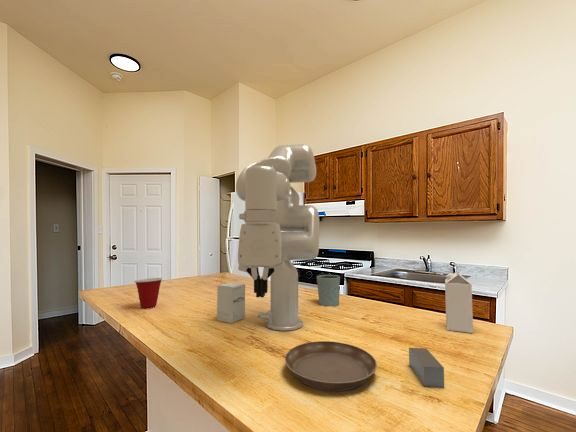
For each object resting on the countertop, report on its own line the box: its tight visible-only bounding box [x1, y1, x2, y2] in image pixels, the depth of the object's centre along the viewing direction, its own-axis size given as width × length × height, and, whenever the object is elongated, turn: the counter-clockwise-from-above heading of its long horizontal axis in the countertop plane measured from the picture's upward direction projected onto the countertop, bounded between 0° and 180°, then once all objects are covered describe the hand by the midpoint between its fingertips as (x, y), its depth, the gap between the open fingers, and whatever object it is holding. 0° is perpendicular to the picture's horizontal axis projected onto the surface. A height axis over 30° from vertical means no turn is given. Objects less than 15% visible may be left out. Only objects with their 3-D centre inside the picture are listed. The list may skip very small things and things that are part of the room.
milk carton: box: [444, 268, 474, 334], centre depth 98 cm, size 7×7×19 cm
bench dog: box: [408, 347, 445, 388], centre depth 66 cm, size 4×10×4 cm, turn 174°
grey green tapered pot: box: [316, 274, 341, 307], centre depth 130 cm, size 10×10×12 cm
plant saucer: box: [284, 340, 378, 392], centre depth 68 cm, size 21×21×3 cm
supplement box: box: [216, 282, 246, 324], centre depth 109 cm, size 7×7×13 cm
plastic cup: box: [134, 277, 163, 310], centre depth 127 cm, size 11×11×12 cm
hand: (260, 296), depth 70 cm, fingers closed
